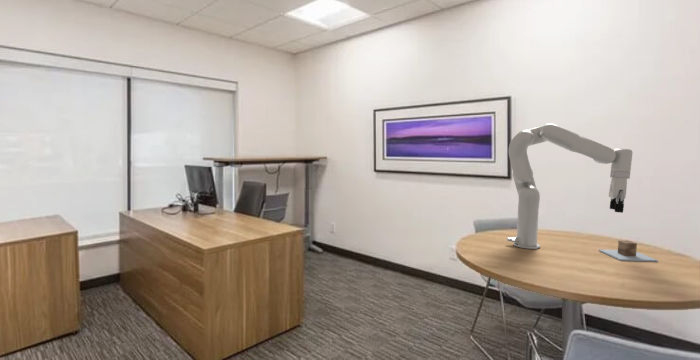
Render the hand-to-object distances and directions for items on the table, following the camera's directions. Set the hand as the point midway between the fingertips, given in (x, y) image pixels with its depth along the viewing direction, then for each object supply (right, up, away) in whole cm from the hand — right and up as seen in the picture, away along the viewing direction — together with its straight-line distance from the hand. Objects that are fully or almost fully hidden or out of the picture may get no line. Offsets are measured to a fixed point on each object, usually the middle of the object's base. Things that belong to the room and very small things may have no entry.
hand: (616, 210), depth 175 cm
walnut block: (+4, -21, -2) cm, 21 cm away
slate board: (+4, -21, -2) cm, 22 cm away
